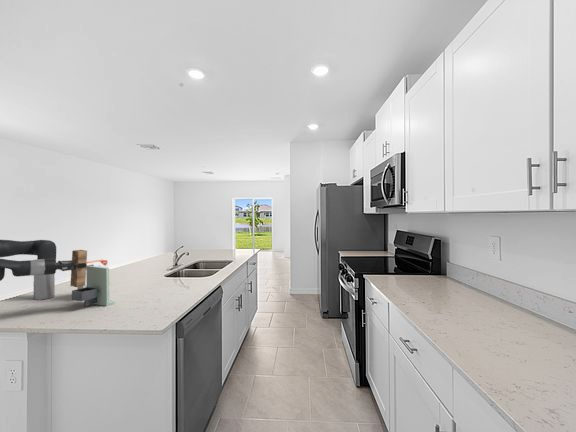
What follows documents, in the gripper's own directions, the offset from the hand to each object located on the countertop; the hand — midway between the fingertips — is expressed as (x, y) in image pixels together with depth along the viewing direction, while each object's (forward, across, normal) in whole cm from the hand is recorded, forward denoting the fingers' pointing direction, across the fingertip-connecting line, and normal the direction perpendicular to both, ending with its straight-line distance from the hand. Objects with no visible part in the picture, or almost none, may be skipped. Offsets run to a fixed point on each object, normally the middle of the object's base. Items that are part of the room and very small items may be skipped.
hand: (84, 264), depth 151 cm
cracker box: (+9, -18, -24) cm, 31 cm away
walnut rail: (-2, 0, -11) cm, 11 cm away
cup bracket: (+4, 0, -23) cm, 23 cm away
